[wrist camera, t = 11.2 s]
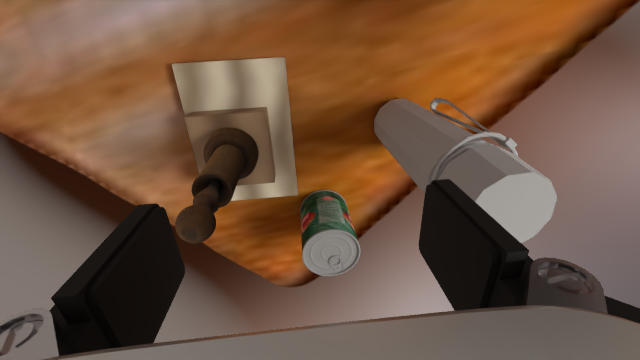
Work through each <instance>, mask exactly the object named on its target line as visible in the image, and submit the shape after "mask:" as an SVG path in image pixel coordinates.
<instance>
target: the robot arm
mask: <svg viewBox="0 0 640 360" xmlns="http://www.w3.org/2000/svg"><path fill="white" fill-rule="evenodd" d="M419 250H420V252H421V254H422V256H423V258H424V259H425V261H426V263H427V265H428V266H429V268H430V269H431V271H432V273H433V275H434V276H435V278H436V280H437V281H438V283H439V285H440V286H441V288H442V290H443V292H444V293H445V295H446V297H447V298H448V300H449V302H450V303H451V305H452V307H453V308H454V310H455V311H448V312H437V313H427V314H418V315H409V316H398V317H388V318H379V319H370V320H359V321H350V322H340V323H331V324H322V325H312V326H304V327H295V328H285V329H276V330H267V331H258V332H248V333H239V334H231V335H222V336H213V337H205V338H196V339H187V340H178V341H170V342H162V343H153V342H154V340H155V338H156V336H157V334H158V332H159V329H160V327H161V325H162V323H163V321H164V319H165V316H166V314H167V312H168V310H169V307H170V305H171V303H172V301H173V299H174V297H175V295H176V292H177V290H178V288H179V286H180V284H181V281H182V279H183V277H184V274H185V266H184V263H183V260H182V257H181V254H180V251H179V249H178V245H177V243H176V240H175V237H174V234H173V231H172V228H171V225H170V222H169V219H168V216H167V213H166V211H165V209H164V208H163V207H160V206H159V205H158V204H144V205H138V206H136V207H135V209H133V211H132V212H131V213H130V214H129V215H128V216H127V217H126V218H125V219H124V220H123V221H122V222H121V223H120V224H119V225H118V227H117V228H116V229H115V230H114V231H113V232H112V233H111V234H110V235H109V236H108V238H106V239H105V240H104V242H103V243H102V244H101V245H100V246H99V247H98V248H97V249H96V250H95V251H94V252H93V254H91V256H90V257H89V258H88V259H87V260H86V261H85V262H84V263H83V264H82V265H81V266H80V267H79V268H78V269H77V271H76V272H75V273H74V274H73V275H72V276H71V277H70V278H69V279H68V280H67V281H66V283H64V285H63V286H62V287H61V288H60V289H59V290H58V291H57V292H56V293H55V294H54V295H53V296H52V297H51V299H52V300H53V302H54V303H55V305H54V306H53V307H52V308H51V310H50V311H49V310H46V309H43V308H42V309H32V310H27V311H23V312H21V313H18V314H16V315H13V316H11V317H9V318H7V319H5V320H3V321H1V322H0V360H640V308H637V307H634V306H631V305H629V304H625V303H623V302H620V301H618V300H615V299H612V298H609V297H606V296H604V291H603V288H602V286H601V283H600V282H599V281H598V280H597V279H596V277H595V276H594V275H592V274H591V273H589V272H588V271H587V270H585V269H583V268H582V267H579V266H578V265H575V264H573V263H571V262H568V261H565V260H560V259H556V258H546V257H545V258H538V259H536V260H534V261H533V260H532V259H531V258H530V257H529V256H528V253H529V250H528V249H527V248H526V247H525V246H524V245H522V244H521V243H520V242H519V241H518V240H517V239H516V238H515V237H514V236H512V235H511V234H510V233H509V232H508V231H507V230H506V229H505V228H504V227H502V226H501V225H500V224H499V223H498V222H497V221H496V220H495V219H494V218H492V217H491V216H490V215H489V214H488V213H487V212H486V211H485V210H484V209H482V208H481V207H480V206H479V205H478V204H477V203H476V202H475V201H474V200H472V199H471V198H470V197H469V196H468V195H467V194H466V193H465V192H464V191H462V190H461V189H460V188H459V187H458V186H457V185H456V184H455V183H454V182H452V181H451V180H450V179H441V180H433V181H432V182H431V184H428V185H427V186H426V191H425V199H424V207H423V214H422V223H421V230H420V238H419Z"/></svg>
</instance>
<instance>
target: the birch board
mask: <svg viewBox="0 0 640 360" xmlns="http://www.w3.org/2000/svg"><path fill="white" fill-rule="evenodd" d="M172 68H173V72H174V76H175V80H176V83H177V87H178V91H179V95H180V99H181V103H182V107H183V110H184V114H185V116H187V115H188V114H190V113H191V112H198V111H213V110H227V109H242V108H256V107H267V110H268V117H269V125H270V133H271V140H272V148H273V155H274V163H275V171H276V177H275V183H264V184H252V185H240V186H236V188H235V191H234V194H233V197H232V199H231V201H235V200H247V199H259V198H270V197H282V196H294V195H298V187H297V177H296V166H295V156H294V146H293V135H292V125H291V114H290V104H289V94H288V83H287V73H286V62H285V57H273V58H256V59H239V60H222V61H205V62H189V63H174V64H172Z"/></svg>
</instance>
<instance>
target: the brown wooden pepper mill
mask: <svg viewBox="0 0 640 360" xmlns="http://www.w3.org/2000/svg"><path fill="white" fill-rule="evenodd" d="M203 155H204V160H205V163H206V165H205V167H204V168H203V170H202V171H201V172H200V174H199V175H198V177H197V178H196V179H195V181H194V183H193V185H192V194H193V196H194V199H193V205H192V206H189V207H187V208H185V209H183V210H182V211H181V212H180V213H179V215H178V216H177V219H176V223H175V228H176V232H177V234H178V235H179V237H180V238H181V239H182V240H184V241H186V242H189V243H200V242H203V241H205V240H206V239H208V238H209V237H210V236H211V235H212V234H213V232H214V230H215V227H216V219H215V216H214V214H213V213H215V212H216V211H217V210H218V208H220V207H223V206H225V205H227V204H228V203H229V202H230V201H231V199H232V197H233V194H234V191H235V188H236V186H237V183H238V180H240V179H243V178H245V177H247V176H249V175H250V174H251V173H252V172H253V170H254V169H255V166H256V164H257V161H258V156H259V152H258V147H257V144H256V142H255V140H254V139H253V138H252V137H251V136H250V135H249V134H248V133H246V132H244V131H243V130H240V129H237V128H223V129H220V130H218V131H216V132H215V133H213V134H212V135H211V137H210V138H209V140H208V141H207V142H206V144H205V147H204V152H203Z"/></svg>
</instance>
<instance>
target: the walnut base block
mask: <svg viewBox="0 0 640 360" xmlns="http://www.w3.org/2000/svg"><path fill="white" fill-rule="evenodd" d="M184 119H185V123H186V127H187V130H188V134H189V138H190V142H191V146H192V149H193V153H194V157H195V161H196V165H197V169H198V172H199V174H200V172H201V171H202V170H203V168H204V167H205V165H206V163H205V160H204V155H203V152H204V147H205V144H206V142H207V141H208V140H209V138H210V137H211V135H212V134H213V133H215V132H216V131H218V130H220V129H223V128H237V129H240V130H243V131H244V132H246V133H248V134H249V135H250V136H251V137H252V138H253V139H254V140H255V142H256V144H257V147H258V152H259V156H258V161H257V164H256V166H255V169H254V170H253V172H252V173H251V174H250V175H249V176H247V177H245V178H243V179H240V180H238V183H237V186H240V185H252V184H264V183H275V177H276V171H275V163H274V155H273V148H272V140H271V133H270V125H269V117H268V110H267V107H256V108H242V109H227V110H213V111H198V112H191V113H190V114H188V115H187V116H185V117H184Z"/></svg>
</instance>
